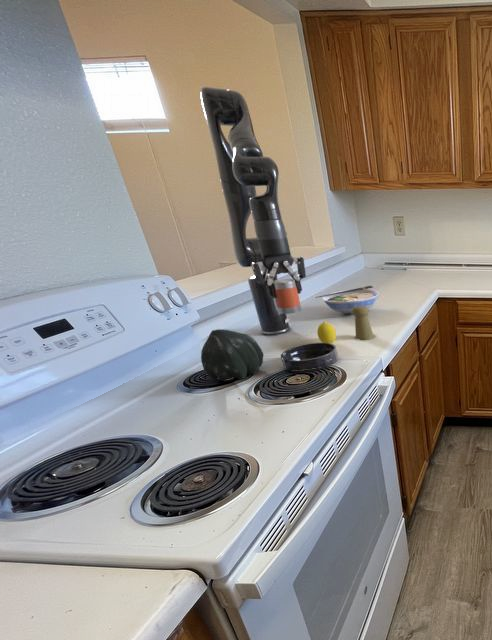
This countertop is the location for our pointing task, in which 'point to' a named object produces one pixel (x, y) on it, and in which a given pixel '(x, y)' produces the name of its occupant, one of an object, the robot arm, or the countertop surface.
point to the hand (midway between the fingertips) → (286, 295)
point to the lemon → (326, 333)
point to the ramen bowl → (351, 299)
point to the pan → (309, 357)
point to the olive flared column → (362, 323)
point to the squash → (230, 355)
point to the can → (286, 296)
